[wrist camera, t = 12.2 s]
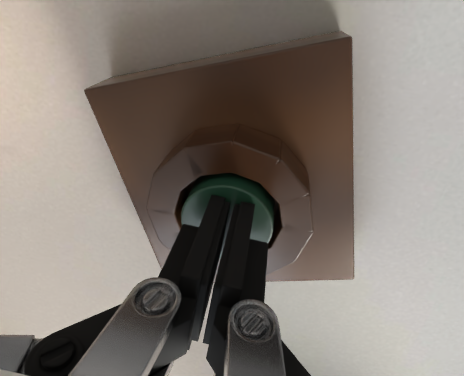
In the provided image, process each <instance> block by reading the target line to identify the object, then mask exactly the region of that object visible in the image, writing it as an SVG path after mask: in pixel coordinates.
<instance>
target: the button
mask: <svg viewBox="0 0 464 376" xmlns="http://www.w3.org/2000/svg"><path fill="white" fill-rule="evenodd" d="M211 195H215V196H220V197H224V198H226V200H225V202H229V203H230V207H229V213H228V218H227V223H226V228H225V233H224V238H223V243H222V248H221V253H220V259H221V256H222V252H223V248H224V244H225V240H226V236H227V232H228V228H229V224H230V220H231V216H232V212H233V209H234V205H235V204H238V205H240V204H241V201H242V202H247V203H251V204H255V209H254V215H253V222H252V228H251V235H250V239H253V240H258V241H262V242H266V243H268V242H269V241H270V239H271V237H272V233H273V224H274V206H275V201H274V198H273V197H272V196H271V195H270V194H269V193H268V192H267V190H266V189H265V188H264V187H263V186H262V185H261V184H260V183H259V182H256V181H253V180H250V179H248V178H245V177H242V176H239V175H237V174H234V173H223V174H214V175H205V176H200V177H199V178H198V179H197V180H196V181H195V183H194V185H193V187H192V189H191V191H190V193H189V195H188V197H187V199H186V201H185V203H184V205H183V207H182V211H181V224H182V225H183V224H187V225H192V226H196V227H199V226H200V223H201V220H202V218H203V215H204V213H205V210H206V207H207V205H208V202H209V200H210V197H211Z"/></svg>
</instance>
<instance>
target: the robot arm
mask: <svg viewBox="0 0 464 376" xmlns="http://www.w3.org/2000/svg"><path fill="white" fill-rule="evenodd" d="M225 200H226V198H224V197H220V196H215V195H211V197H210V200H209V202H208V205H207V207H206V210H205V213H204V215H203V218H202V220H201V223H200V226H199V227H196V226H192V225H187V224H183V225H182V227H181V229H180V231H179V233H178V236H177V238H176V240H175V242H174V244H173V246H172V248H171V251H170V253H169V255H168V257H167V259H166V261H165V264H164V266H163V268H162V270H161V272H160V274H159V276H158V278H150V279H146V280H144V281H142V282H140V283H138V284H137V285H136V286H135V287H134V288H133V290H132V291H131V292H130V294H129V295H128V296H127V298H126V299H125V300H124V302H123V303H122V304H120V305H118V306H116V307H113V308H111V309H109V310H106V311H104V312H102V313H99V314H97V315H95V316H92V317H90V318H88V319H85V320H83V321H80V322H78V323H76V324H73V325H71V326H69V327H66V328H64V329H62V330H59V331H57V332H55V333H52V334H51V335H49V336H47V337H45V338H43V339H35V336H34V335H0V376H168V375H169V373H170V371H171V368H172V366H173V363H174V360H176V359H178V358H179V357H181V356H183V355H184V354H186V352H187V350H189V348H190V345H191V341H192V340H194V341H198V339H199V335H200V331H201V328H202V324H203V320H204V316H205V312H206V308H207V305H208V301H209V297H210V293H211V289H212V285H213V281H214V278H215V274H216V270H217V266H218V262H219V258H220V253H221V248H222V243H223V238H224V233H225V228H226V223H227V218H228V213H229V207H230V203H229V202H225ZM254 209H255V204H251V203H247V202H242V201H241V204H240V205H238V204H235V205H234V209H233V212H232V216H231V220H230V224H229V228H228V232H227V236H226V240H225V244H224V248H223V252H222V256H221V259H220V263H219V267H218V271H217V275H216V279H215V284H214V288H213V293H212V298H211V304H210V309H209V314H208V319H207V324H206V329H205V334H204V339H203V343H206V344H209V347H208V352H207V357H206V359H207V361H208V362H209V364H210V366H211V367H212V369H213V371H214V376H311V375H310V374H309V373H308V372H307V370H306V369H305V368H304V367H303V366H302V364H301V363H300V362H299V361H298V360H297V358H296V357H295V356H294V355H293V353H292V352H291V351H290V350H289V349H288V347H287V346H286V345H285V344H284V343H283V341H282V340H281V335H280V328H279V322H278V319H277V316H276V314H275V313H274V311H273V310H272V309H271V308H270V307H269V306H268V305H267V304H265V303H264V296H265V282H266V269H267V255H268V243H266V242H262V241H258V240H253V239H250V235H251V228H252V222H253V215H254Z"/></svg>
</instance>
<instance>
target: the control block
mask: <svg viewBox="0 0 464 376" xmlns="http://www.w3.org/2000/svg"><path fill="white" fill-rule="evenodd" d="M84 91H85V94H86V96H87V99H88V101H89V103H90V105H91V108H92V110H93V112H94V115H95V117H96V119H97V122H98V124H99V126H100V128H101V131H102V133H103V135H104V138H105V140H106V142H107V145H108V147H109V149H110V151H111V154H112V156H113V158H114V161H115V163H116V165H117V168H118V170H119V172H120V174H121V177H122V179H123V181H124V184H125V186H126V188H127V191H128V193H129V195H130V198H131V200H132V202H133V204H134V207H135V209H136V211H137V214H138V216H139V218H140V221H141V223H142V225H143V227H144V230H145V232H146V234H147V237H148V239H149V241H150V244H151V246H152V248H153V250H154V253H155V255H156V257H157V260H158V262H159V264H160V267H161V269H162V268H163V266H164V264H165V261H166V259H167V257H168V255H169V253H170V251H171V248H172V246H173V244H174V242H175V240H176V238H177V236H178V233H179V231H180V229H181V227H182V224H181V211H182V207H183V205H184V203H185V201H186V199H187V197H188V195H189V193H190V191H191V189H192V187H193V185H194V183H195V181H196V180H197V179H198V178H199V177H200V176H205V175H214V174H223V173H234V174H237V175H239V176H242V177H245V178H248V179H250V180H253V181H256V182H259V183H260V184H261V185H262V186H263V187H264V188H265V189H266V190H267V192H268V193H269V194H270V195H271V196H272V197H273V198H274V201H275V206H274V224H273V233H272V237H271V239H270V241H269V242H268V255H267V269H266V282H267V281H306V280H345V279H354V190H353V65H352V37H351V36H349V35H348V34H346V33H344V32H342V31H336V32H331V33H327V34H322V35H317V36H312V37H307V38H302V39H297V40H292V41H288V42H283V43H278V44H273V45H268V46H263V47H258V48H253V49H248V50H244V51H239V52H234V53H229V54H224V55H219V56H214V57H209V58H204V59H200V60H195V61H190V62H185V63H180V64H175V65H170V66H165V67H160V68H156V69H151V70H146V71H141V72H136V73H131V74H126V75H121V76H117V77H112V78H109V79H107V80H104V81H102V82H100V83H98V84H95V85H93V86H91V87H89V88H86V89H85V90H84ZM219 263H220V258H219V262H218V266H217V270H216V274H215V278H214V281H213V283H215V279H216V275H217V271H218V267H219Z"/></svg>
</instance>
